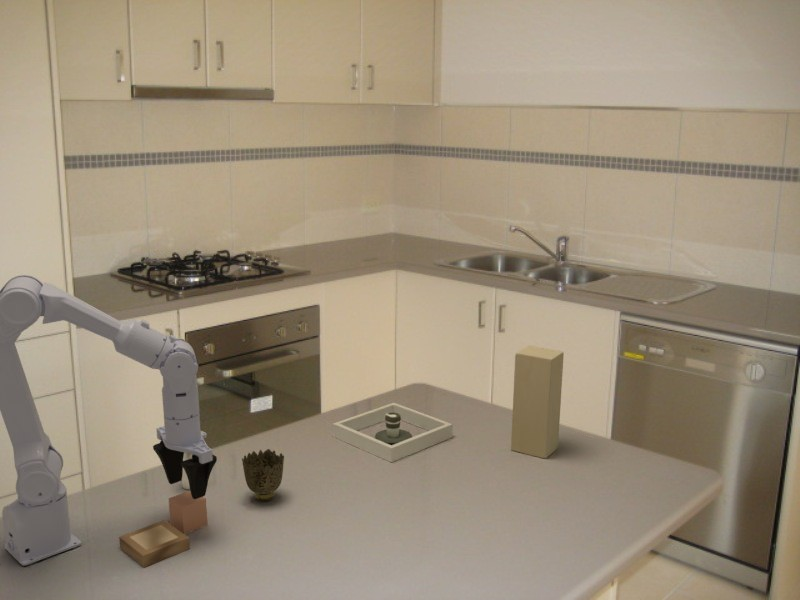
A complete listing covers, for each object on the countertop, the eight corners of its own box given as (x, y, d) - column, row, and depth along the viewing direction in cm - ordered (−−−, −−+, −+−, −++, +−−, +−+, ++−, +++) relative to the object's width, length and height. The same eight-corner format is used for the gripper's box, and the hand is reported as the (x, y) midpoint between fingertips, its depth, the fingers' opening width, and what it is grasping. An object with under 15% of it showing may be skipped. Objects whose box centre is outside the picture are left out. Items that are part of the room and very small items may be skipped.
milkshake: (191, 477, 163) (188, 428, 160) (209, 485, 160) (206, 435, 157) (171, 485, 159) (167, 435, 157) (189, 493, 156) (185, 443, 154)
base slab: (144, 567, 132) (143, 555, 132) (120, 548, 138) (119, 536, 137) (189, 548, 137) (189, 537, 137) (164, 530, 143) (163, 519, 142)
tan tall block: (560, 446, 177) (565, 350, 172) (546, 459, 171) (551, 359, 166) (525, 438, 181) (528, 344, 176) (510, 450, 175) (513, 353, 170)
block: (184, 534, 142) (182, 507, 141) (170, 525, 145) (168, 498, 144) (207, 525, 145) (205, 498, 144) (193, 516, 148) (191, 489, 147)
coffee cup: (421, 447, 176) (421, 425, 174) (363, 447, 176) (362, 425, 175) (420, 425, 187) (420, 404, 186) (366, 425, 187) (365, 404, 186)
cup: (293, 497, 155) (292, 457, 153) (261, 512, 149) (259, 470, 147) (268, 485, 160) (266, 445, 158) (235, 498, 154) (233, 457, 152)
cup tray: (391, 462, 169) (391, 448, 169) (333, 436, 182) (333, 423, 181) (452, 437, 181) (452, 424, 181) (393, 415, 194) (393, 402, 193)
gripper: (226, 419, 138) (231, 495, 141) (180, 396, 148) (185, 468, 151) (188, 430, 133) (193, 510, 136) (143, 407, 143) (149, 481, 146)
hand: (186, 489), depth 143 cm, fingers open, 7 cm apart
